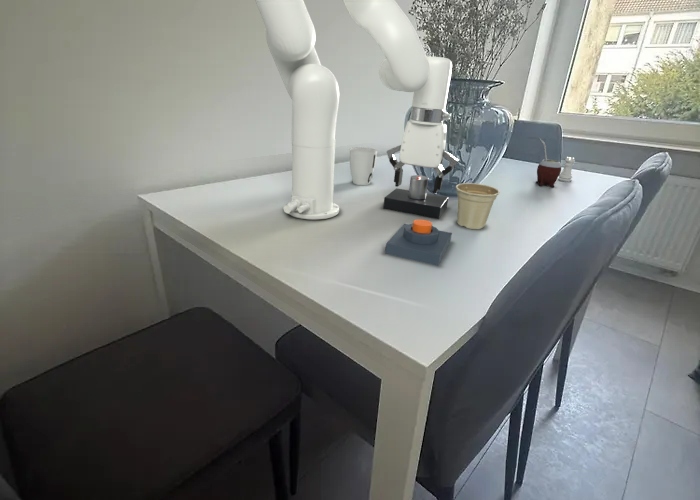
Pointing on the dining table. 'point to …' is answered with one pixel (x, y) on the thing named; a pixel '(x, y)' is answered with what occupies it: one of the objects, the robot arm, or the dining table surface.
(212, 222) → the dining table surface
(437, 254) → the button housing
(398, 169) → the robot arm
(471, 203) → the flower pot
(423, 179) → the dial
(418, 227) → the button
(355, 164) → the cup
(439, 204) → the panel
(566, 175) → the rook chess piece
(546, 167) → the mate gourd
